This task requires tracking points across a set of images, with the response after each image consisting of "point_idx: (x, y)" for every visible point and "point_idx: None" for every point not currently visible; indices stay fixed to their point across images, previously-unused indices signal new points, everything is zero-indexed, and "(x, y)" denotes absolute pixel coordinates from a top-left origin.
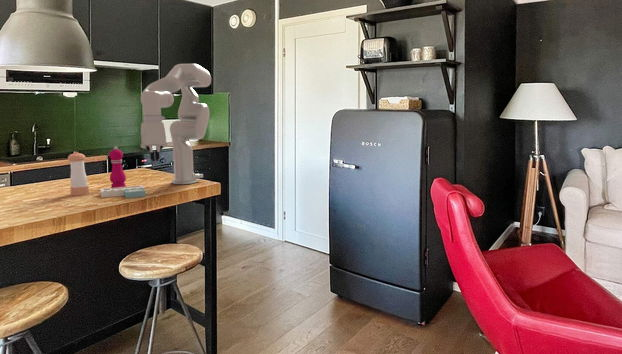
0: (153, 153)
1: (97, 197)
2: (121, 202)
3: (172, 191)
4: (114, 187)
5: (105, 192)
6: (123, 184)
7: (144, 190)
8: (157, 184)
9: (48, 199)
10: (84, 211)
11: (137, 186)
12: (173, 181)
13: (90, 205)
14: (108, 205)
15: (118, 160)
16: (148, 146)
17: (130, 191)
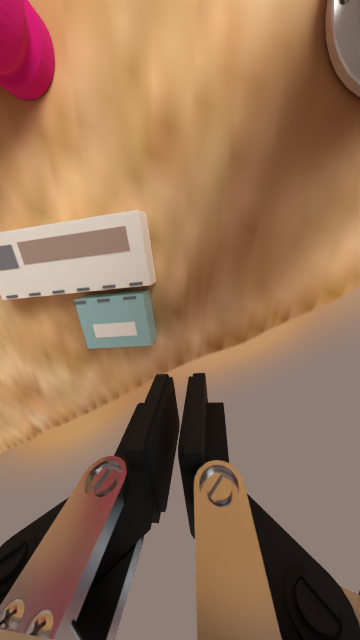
0: (156, 505)
1: None
2: (93, 387)
3: (263, 288)
4: (8, 91)
5: (17, 298)
6: (37, 71)
7: (149, 339)
8: (228, 22)
9: None
10: (31, 434)
11: (117, 241)
12: (339, 19)
13: (24, 386)
14: (67, 405)
15: None
16: (20, 592)
17: (101, 337)
